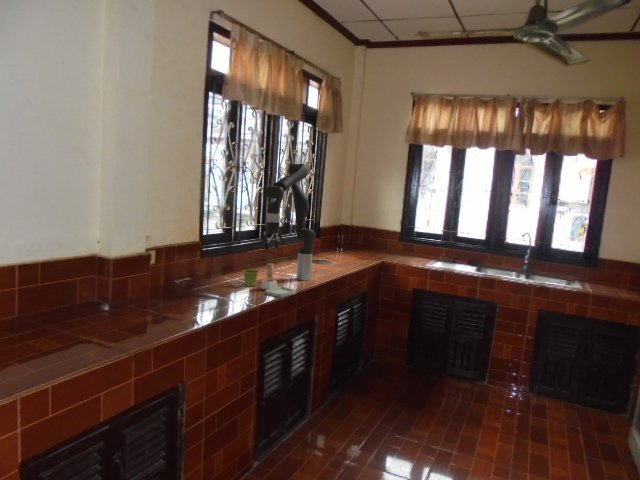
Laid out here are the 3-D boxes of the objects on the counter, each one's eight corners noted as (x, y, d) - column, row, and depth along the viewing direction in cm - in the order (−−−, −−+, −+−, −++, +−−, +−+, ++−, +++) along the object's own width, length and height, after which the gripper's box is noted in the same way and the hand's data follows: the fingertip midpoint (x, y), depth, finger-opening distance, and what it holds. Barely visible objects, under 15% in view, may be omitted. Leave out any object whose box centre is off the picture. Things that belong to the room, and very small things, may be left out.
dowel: (268, 286, 273) (270, 263, 271) (273, 287, 271) (274, 264, 269) (264, 287, 270) (266, 263, 268) (269, 288, 268) (270, 264, 267)
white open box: (268, 287, 275) (268, 278, 274) (276, 289, 272) (276, 280, 271) (261, 288, 270) (261, 280, 269) (269, 290, 267) (270, 282, 266)
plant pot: (259, 284, 281) (260, 270, 279) (256, 287, 271) (256, 273, 270) (244, 283, 281) (245, 269, 280) (240, 286, 272) (241, 271, 271)
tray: (281, 289, 271) (281, 286, 271) (296, 293, 265) (296, 289, 265) (264, 293, 259) (264, 290, 259) (279, 297, 253) (280, 294, 252)
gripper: (276, 219, 273) (274, 246, 276) (259, 220, 262) (258, 249, 264) (286, 221, 269) (284, 248, 271) (270, 222, 257) (268, 251, 260)
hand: (271, 248), depth 268 cm, fingers open, 8 cm apart
